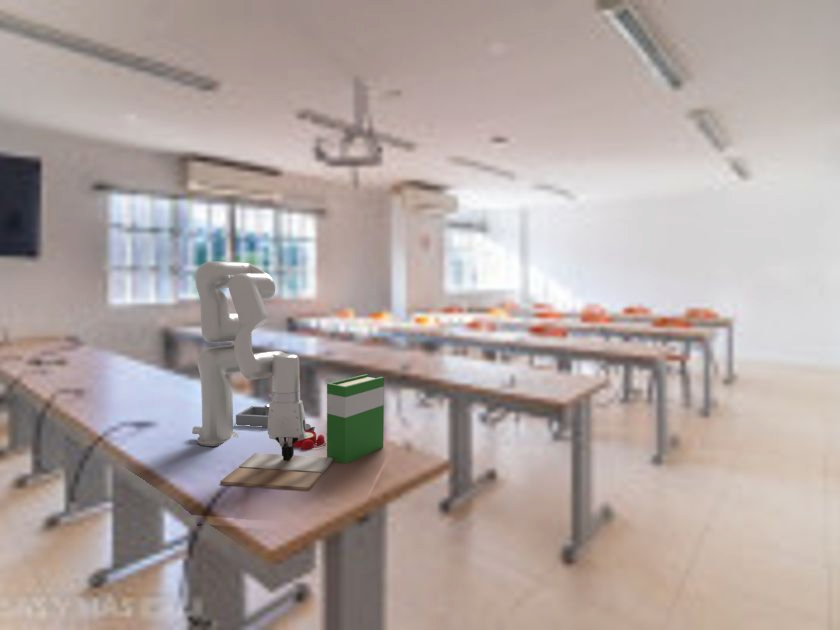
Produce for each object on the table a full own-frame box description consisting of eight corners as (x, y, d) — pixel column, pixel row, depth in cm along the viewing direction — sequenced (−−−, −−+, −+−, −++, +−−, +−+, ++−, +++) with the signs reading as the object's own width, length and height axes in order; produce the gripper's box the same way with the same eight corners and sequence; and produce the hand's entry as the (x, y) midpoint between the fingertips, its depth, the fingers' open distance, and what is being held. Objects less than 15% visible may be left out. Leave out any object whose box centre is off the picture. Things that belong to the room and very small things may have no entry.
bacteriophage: (257, 419, 187) (256, 402, 187) (278, 418, 189) (278, 401, 188) (254, 425, 181) (254, 407, 180) (277, 424, 182) (277, 406, 182)
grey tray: (236, 425, 178) (235, 415, 178) (251, 416, 191) (251, 406, 191) (271, 427, 177) (271, 416, 176) (284, 417, 189) (284, 407, 189)
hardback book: (365, 445, 160) (366, 374, 158) (383, 450, 155) (384, 377, 154) (326, 462, 145) (326, 383, 143) (345, 468, 141) (345, 387, 139)
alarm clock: (299, 428, 166) (331, 426, 158) (302, 446, 166) (334, 445, 158) (276, 436, 157) (308, 434, 149) (279, 455, 157) (311, 454, 149)
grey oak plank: (238, 471, 136) (238, 466, 136) (255, 457, 146) (255, 453, 146) (321, 477, 133) (321, 471, 133) (332, 462, 143) (332, 457, 143)
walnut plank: (220, 486, 126) (220, 481, 126) (237, 473, 135) (237, 467, 135) (309, 493, 123) (309, 487, 123) (320, 478, 132) (320, 473, 132)
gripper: (256, 399, 137) (257, 462, 139) (307, 400, 136) (308, 464, 137) (267, 393, 145) (268, 453, 146) (315, 394, 143) (316, 455, 145)
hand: (287, 458), depth 142 cm, fingers closed
